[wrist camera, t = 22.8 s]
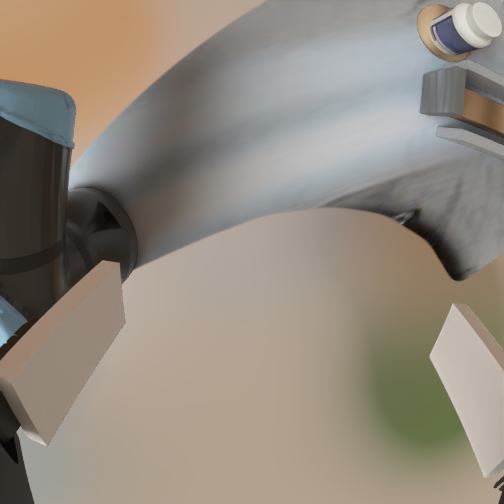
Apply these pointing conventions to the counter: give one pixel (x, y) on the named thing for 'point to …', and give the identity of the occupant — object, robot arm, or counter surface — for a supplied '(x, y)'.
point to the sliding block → (460, 101)
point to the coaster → (423, 29)
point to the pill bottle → (465, 28)
